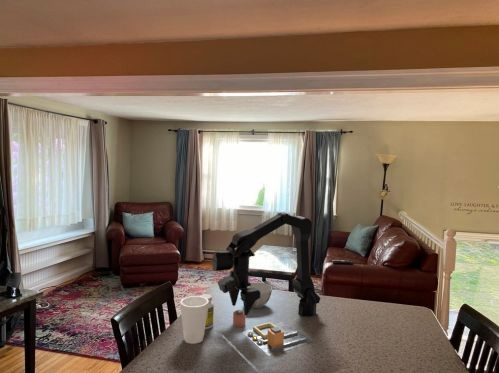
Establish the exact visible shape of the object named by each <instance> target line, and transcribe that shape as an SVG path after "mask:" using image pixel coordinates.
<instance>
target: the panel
mask: <svg viewBox="0 0 499 373" xmlns="http://www.w3.org/2000/svg"><path fill="white" fill-rule="evenodd" d="M272 324H273V325H274V326H276V327H278V328H279V329H281V330H282V331H284V344H282V345H278V346H275V347H271V346H270V345H269V344H268V343H267V338H265V339H264V338H263V337H261V336H260V335H259V334H258V333H256V332H255V331H254V330H253V328H251V329H247V330H244V331H242V332H241V333H242V334H243V335H244V336H246V337H247V338H248V339H249V340H250V341H251V342H252V343H253V344H255V345H256V346H257V347H258V348H259V349H260V350H261V351H262V352H264V354H266V355H267V356H269V357H271V356H273V355H277V354H279V353H283V352H285V351H289V350H293V349H295V348H298V347H302V346H306V345H309V344H312V343H314V341H313V340H311V339H310V338H308V337H307V336H306V335H305V334H302V333H301V332H300V331H298V330H297V329H295V328H294V327H293V326H291V325H289V324H288V323H287V322H285V320H284V321H279V322H276V323H272ZM269 329H271V327H270V326H269V327H265V328H261V329H259V330H260V331H261V332H263V333H264V334H267V333H268V330H269Z"/></svg>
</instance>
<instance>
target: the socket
mask: <svg viewBox="0 0 499 373" xmlns="http://www.w3.org/2000/svg"><path fill="white" fill-rule="evenodd" d="M273 324H274V323H272V322H270V321H269V322H265V323H261V324H258V325H253V326H252V329H253V330H254V331H255V332H256V333H258V334H259V335H260V336H261V337H263V338H264V339H265V338H268V333H267V334H264V333H263V332H261V331H260V330H259V329H261V328H265V327H269V326H270V327H271V328H274V327H276V326H274V325H273Z"/></svg>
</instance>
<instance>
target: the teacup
mask: <svg viewBox="0 0 499 373" xmlns="http://www.w3.org/2000/svg"><path fill="white" fill-rule="evenodd" d="M250 283H251V286H247V288H252V287H254V288H256V289H257V290H259V291H260V292H261V296H260V299H258V300H256V301H255V303H254V304H253V306H252V308H253V309H260V308H263V307H264V306H265V305H267V303H268V302H269V300H270V299H271V296H272V292H273V287H272V285H270V284H267V283H266V282H259V281H258V282H250Z"/></svg>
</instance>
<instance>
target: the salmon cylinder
mask: <svg viewBox="0 0 499 373" xmlns="http://www.w3.org/2000/svg"><path fill="white" fill-rule="evenodd" d="M232 314H233V315H232V325H233V327H236V328H243V327H246V326H245V325H246V316H245V315H244V310H243V309H237V310H235V311H233V313H232Z"/></svg>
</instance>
